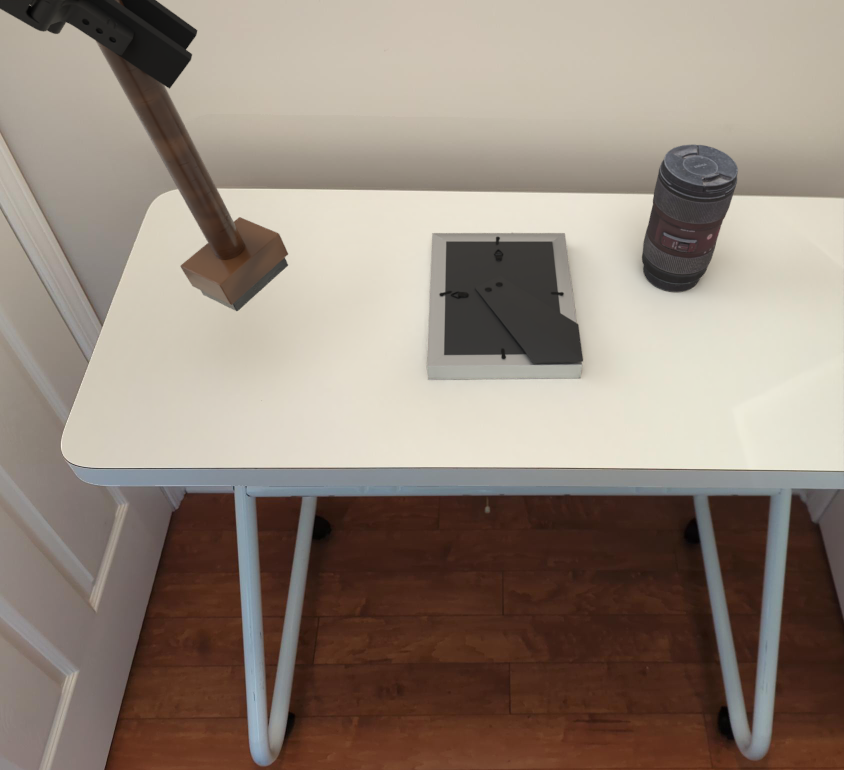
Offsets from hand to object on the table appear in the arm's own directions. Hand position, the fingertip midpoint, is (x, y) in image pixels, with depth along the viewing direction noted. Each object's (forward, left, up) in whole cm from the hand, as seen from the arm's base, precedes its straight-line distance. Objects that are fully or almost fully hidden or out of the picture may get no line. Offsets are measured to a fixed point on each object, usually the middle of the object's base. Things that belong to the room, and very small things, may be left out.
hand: (183, 58), depth 51 cm
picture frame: (+23, -10, -34) cm, 42 cm away
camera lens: (+41, -21, -34) cm, 57 cm away
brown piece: (0, 0, -20) cm, 20 cm away
